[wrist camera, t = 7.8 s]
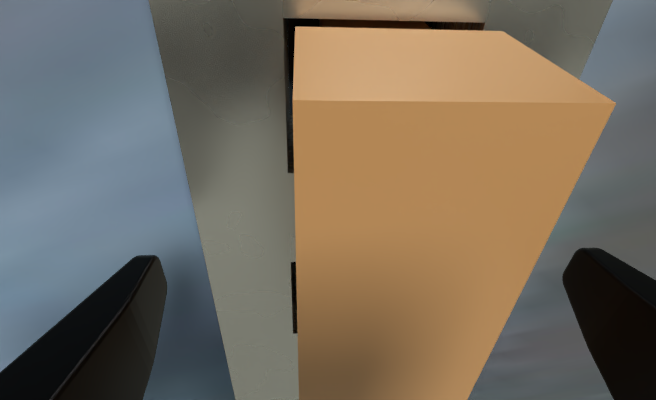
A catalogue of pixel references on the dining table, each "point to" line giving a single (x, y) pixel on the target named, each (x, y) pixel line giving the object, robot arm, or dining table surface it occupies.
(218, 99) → the rail
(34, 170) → the dining table surface
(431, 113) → the tan stepped block
